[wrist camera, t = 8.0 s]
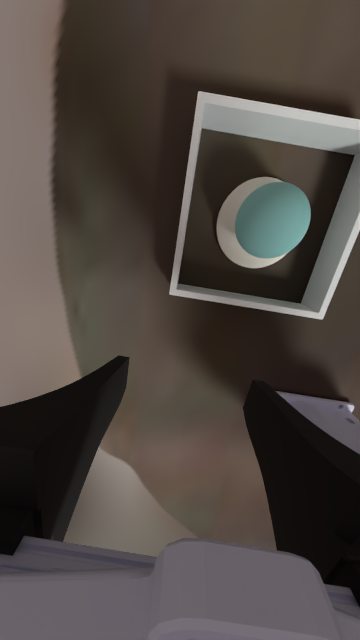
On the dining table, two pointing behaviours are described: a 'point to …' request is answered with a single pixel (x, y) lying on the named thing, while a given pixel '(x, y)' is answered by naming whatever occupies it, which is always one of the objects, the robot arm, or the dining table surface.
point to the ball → (272, 220)
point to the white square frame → (293, 128)
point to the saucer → (227, 225)
